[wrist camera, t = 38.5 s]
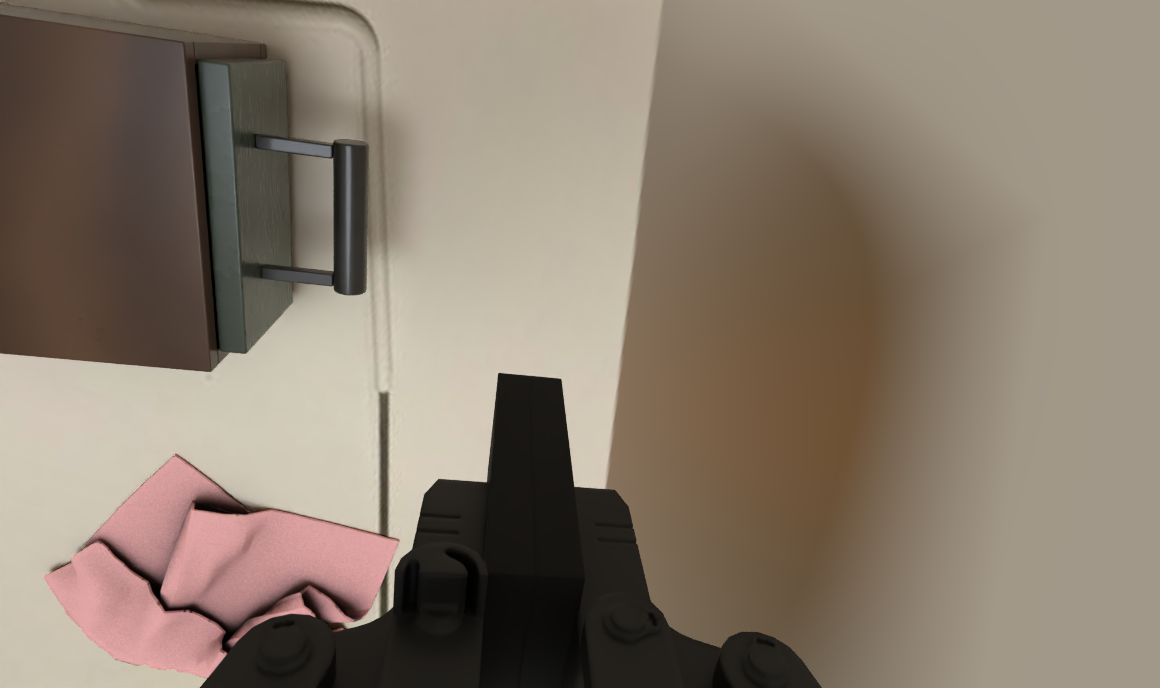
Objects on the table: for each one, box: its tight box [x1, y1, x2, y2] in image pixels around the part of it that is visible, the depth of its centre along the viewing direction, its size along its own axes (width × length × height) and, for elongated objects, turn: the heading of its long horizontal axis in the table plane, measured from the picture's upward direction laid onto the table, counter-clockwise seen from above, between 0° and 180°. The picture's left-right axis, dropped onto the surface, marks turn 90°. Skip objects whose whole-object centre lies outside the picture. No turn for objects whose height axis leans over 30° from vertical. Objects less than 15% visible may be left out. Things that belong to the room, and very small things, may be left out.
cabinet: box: [0, 3, 266, 372], centre depth 30 cm, size 16×14×9 cm
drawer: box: [195, 58, 369, 354], centre depth 30 cm, size 19×12×7 cm, turn 82°
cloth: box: [44, 455, 399, 678], centre depth 44 cm, size 20×22×2 cm
